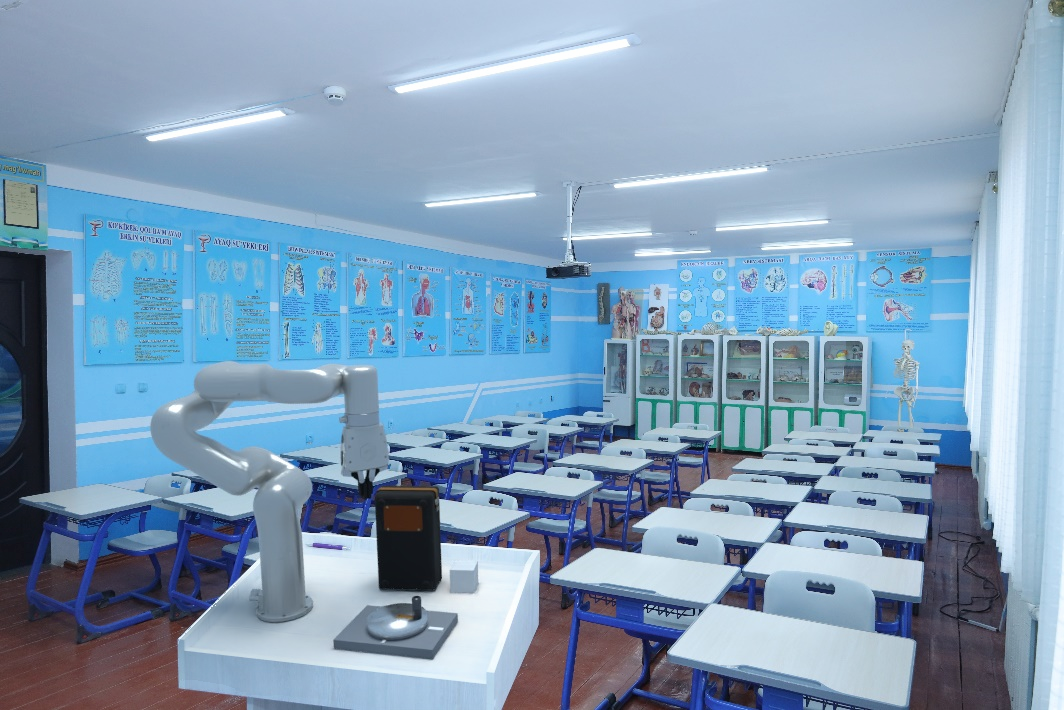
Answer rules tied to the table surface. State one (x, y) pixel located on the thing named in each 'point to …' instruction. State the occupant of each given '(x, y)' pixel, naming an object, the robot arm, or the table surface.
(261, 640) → the table surface
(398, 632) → the dial
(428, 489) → the voltmeter
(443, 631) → the grey base plate
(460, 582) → the light grey cube
